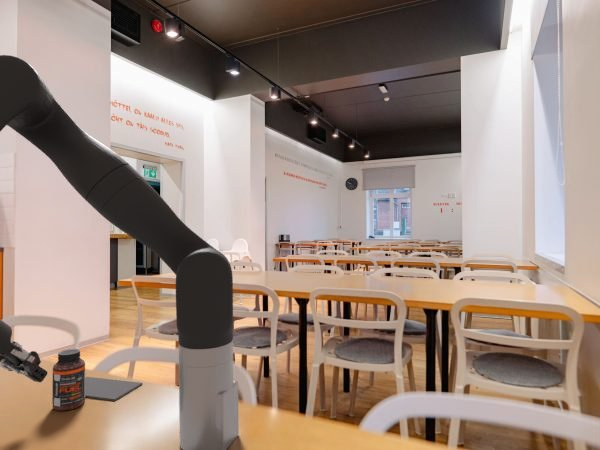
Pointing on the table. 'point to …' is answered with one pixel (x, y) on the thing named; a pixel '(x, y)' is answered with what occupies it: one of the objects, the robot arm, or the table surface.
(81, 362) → the supplement bottle
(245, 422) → the table surface
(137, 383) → the rubber mat
